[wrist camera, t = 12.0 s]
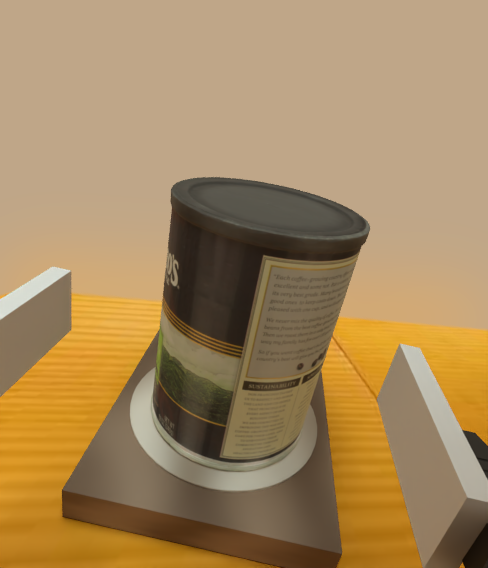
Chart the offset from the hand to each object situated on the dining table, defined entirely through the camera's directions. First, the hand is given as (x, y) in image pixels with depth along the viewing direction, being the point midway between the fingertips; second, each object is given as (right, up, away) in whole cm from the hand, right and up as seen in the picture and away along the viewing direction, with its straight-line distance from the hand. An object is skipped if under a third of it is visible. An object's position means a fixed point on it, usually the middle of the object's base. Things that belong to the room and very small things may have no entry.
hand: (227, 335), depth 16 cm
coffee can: (0, -6, +11) cm, 13 cm away
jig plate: (-1, -8, +12) cm, 14 cm away
